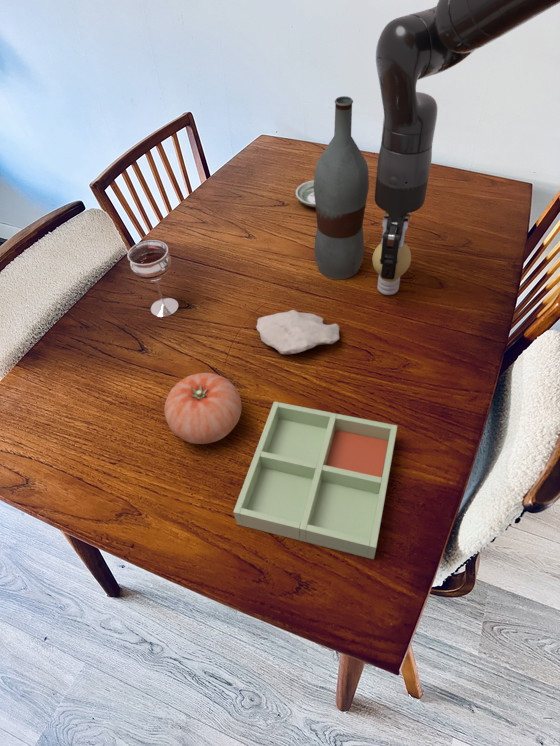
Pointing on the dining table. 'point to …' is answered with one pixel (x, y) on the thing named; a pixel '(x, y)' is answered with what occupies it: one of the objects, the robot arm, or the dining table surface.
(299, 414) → the grid
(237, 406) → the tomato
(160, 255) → the wineglass
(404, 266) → the light bulb
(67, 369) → the dining table surface
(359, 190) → the bottle
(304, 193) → the saucer
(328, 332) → the decorative stone
